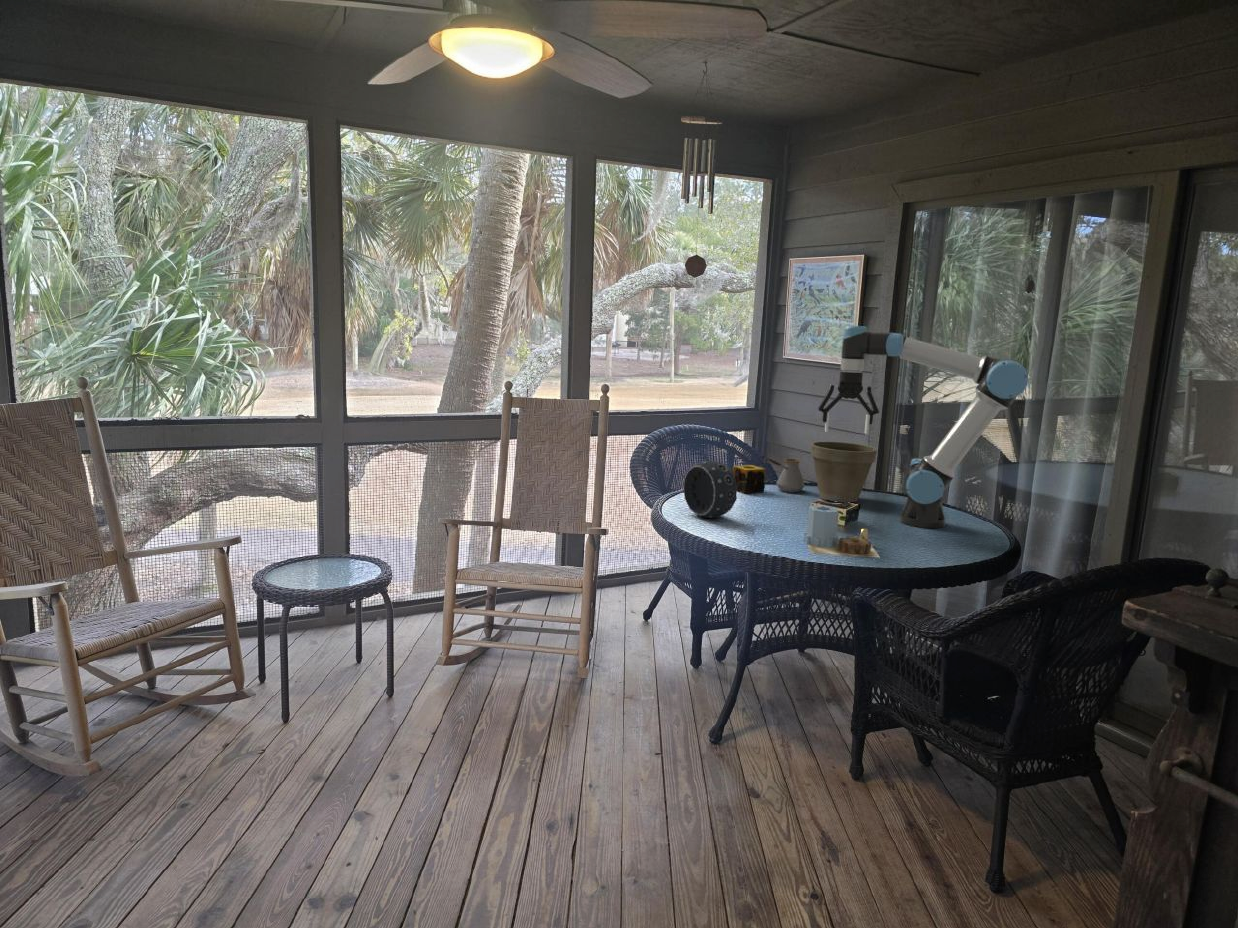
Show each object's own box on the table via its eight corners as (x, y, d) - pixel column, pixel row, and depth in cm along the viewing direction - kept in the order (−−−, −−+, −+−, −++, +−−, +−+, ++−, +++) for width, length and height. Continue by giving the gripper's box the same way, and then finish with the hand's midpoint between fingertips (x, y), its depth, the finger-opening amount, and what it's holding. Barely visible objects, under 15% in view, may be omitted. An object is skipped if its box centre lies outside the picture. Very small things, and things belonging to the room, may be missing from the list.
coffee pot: (789, 486, 341) (791, 452, 338) (809, 492, 332) (812, 456, 329) (753, 491, 329) (755, 455, 326) (773, 497, 320) (776, 460, 317)
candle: (744, 494, 323) (746, 470, 321) (730, 489, 332) (731, 465, 330) (765, 492, 328) (766, 468, 326) (750, 487, 336) (751, 464, 335)
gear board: (868, 546, 254) (868, 541, 254) (879, 562, 237) (880, 557, 237) (804, 542, 256) (804, 537, 256) (810, 557, 239) (811, 553, 239)
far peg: (865, 544, 251) (867, 528, 250) (867, 545, 249) (868, 530, 248) (859, 543, 251) (860, 528, 250) (860, 545, 249) (862, 529, 248)
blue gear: (828, 537, 257) (831, 504, 255) (844, 547, 247) (847, 512, 245) (798, 538, 254) (800, 505, 252) (813, 548, 244) (816, 513, 242)
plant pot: (869, 495, 329) (874, 443, 325) (874, 508, 306) (879, 452, 302) (807, 490, 335) (811, 439, 331) (807, 503, 311) (811, 448, 307)
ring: (714, 525, 273) (718, 467, 270) (679, 512, 290) (681, 457, 286) (738, 521, 279) (742, 465, 276) (702, 509, 296) (705, 455, 292)
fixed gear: (867, 547, 247) (868, 534, 246) (873, 555, 238) (874, 542, 237) (836, 545, 248) (837, 532, 247) (841, 553, 239) (842, 540, 238)
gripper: (886, 372, 277) (880, 432, 281) (813, 369, 280) (808, 429, 284) (891, 373, 270) (885, 436, 274) (815, 370, 273) (811, 432, 276)
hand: (846, 432), depth 279 cm, fingers open, 13 cm apart
